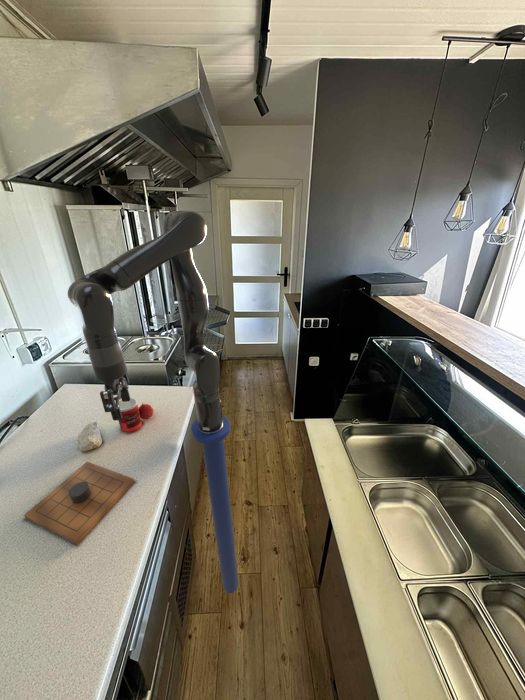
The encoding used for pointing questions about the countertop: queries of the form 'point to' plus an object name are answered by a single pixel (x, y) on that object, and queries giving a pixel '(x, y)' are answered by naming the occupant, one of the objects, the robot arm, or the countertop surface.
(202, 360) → the robot arm
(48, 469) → the countertop surface
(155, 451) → the countertop surface
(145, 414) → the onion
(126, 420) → the canned food
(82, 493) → the black stone
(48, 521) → the grid board
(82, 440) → the stone
